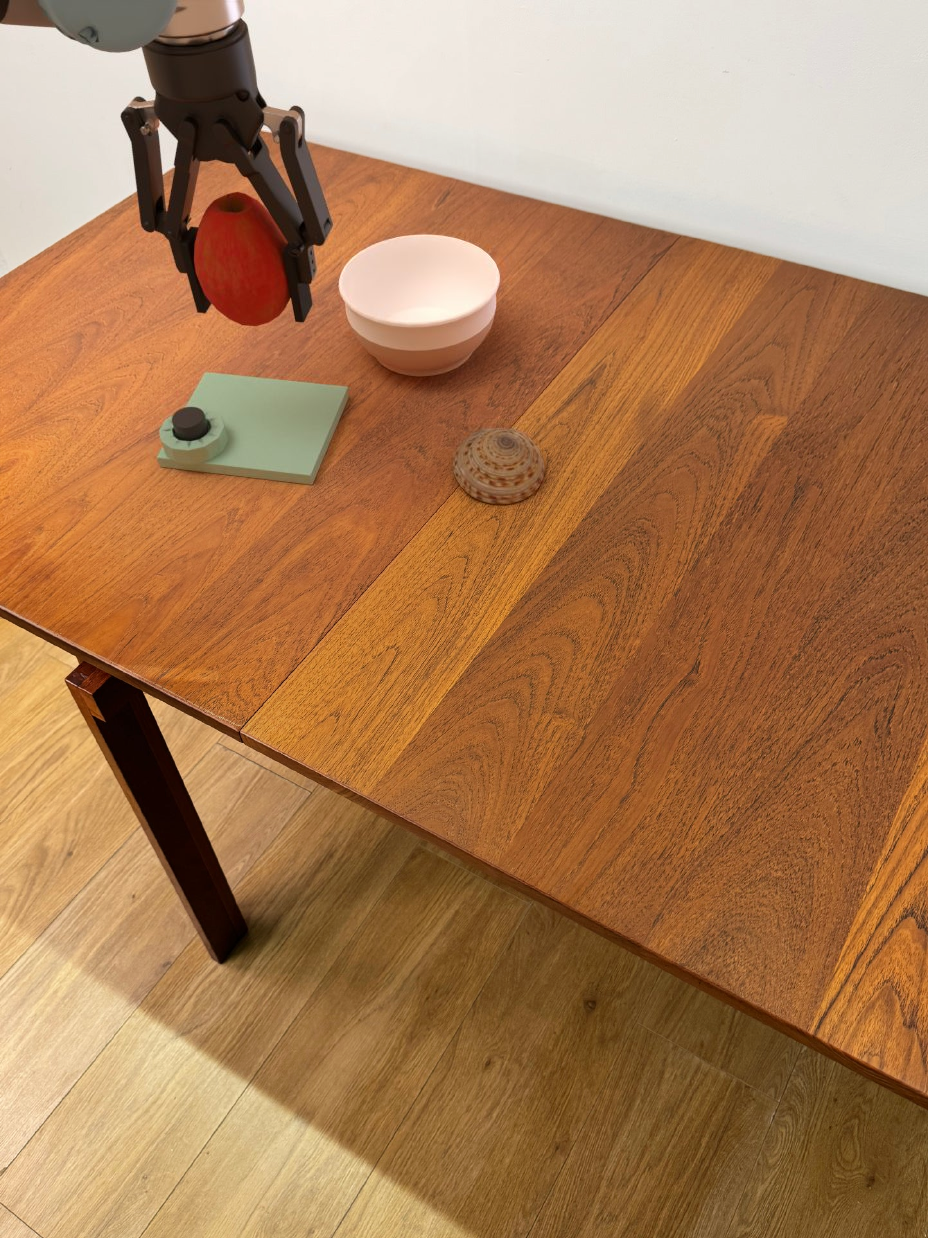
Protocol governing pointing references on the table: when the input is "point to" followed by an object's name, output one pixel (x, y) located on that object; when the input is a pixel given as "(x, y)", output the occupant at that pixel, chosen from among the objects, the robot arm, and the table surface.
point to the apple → (242, 260)
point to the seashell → (498, 465)
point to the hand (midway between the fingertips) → (255, 308)
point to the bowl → (420, 301)
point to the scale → (258, 428)
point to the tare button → (190, 424)
